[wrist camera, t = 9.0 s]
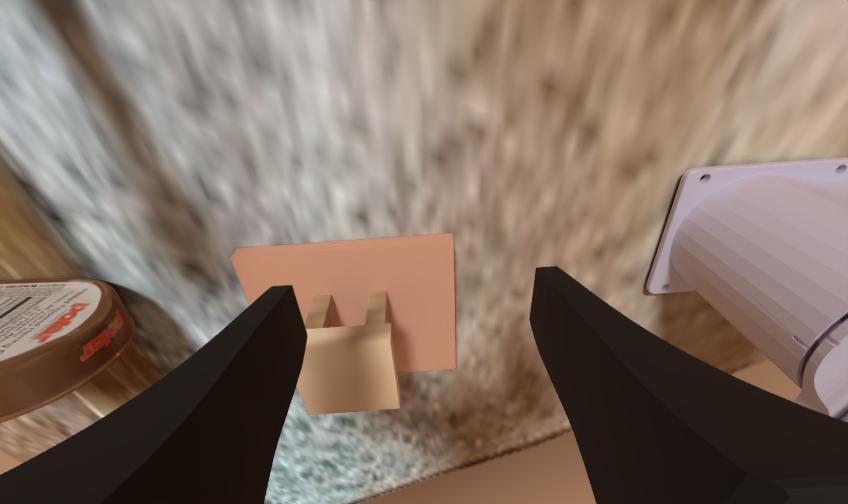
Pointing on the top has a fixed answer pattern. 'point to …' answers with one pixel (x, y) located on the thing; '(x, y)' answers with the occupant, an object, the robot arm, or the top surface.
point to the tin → (56, 339)
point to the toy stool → (349, 361)
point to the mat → (369, 287)
